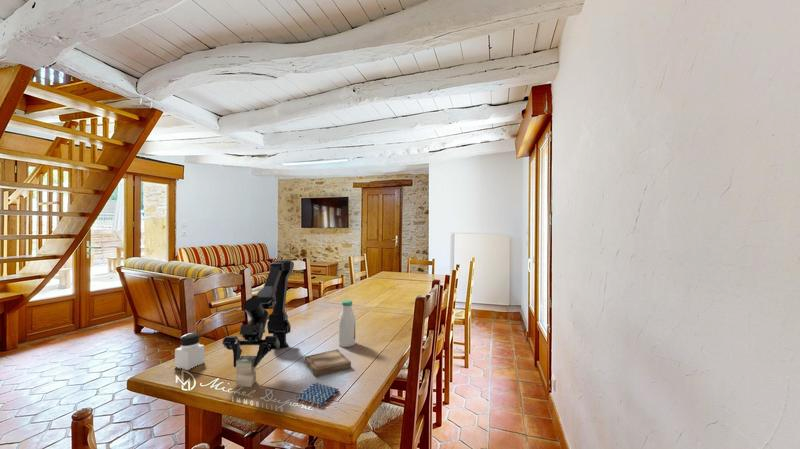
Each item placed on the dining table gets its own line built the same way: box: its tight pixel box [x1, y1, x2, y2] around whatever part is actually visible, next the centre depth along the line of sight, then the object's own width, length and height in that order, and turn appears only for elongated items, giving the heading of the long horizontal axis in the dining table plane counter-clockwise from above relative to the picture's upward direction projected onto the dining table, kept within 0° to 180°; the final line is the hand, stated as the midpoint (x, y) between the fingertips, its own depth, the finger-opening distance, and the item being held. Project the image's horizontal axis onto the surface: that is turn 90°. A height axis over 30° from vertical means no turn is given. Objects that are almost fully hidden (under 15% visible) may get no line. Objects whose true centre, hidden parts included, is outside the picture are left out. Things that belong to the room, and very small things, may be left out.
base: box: [304, 349, 352, 378], centre depth 126 cm, size 14×14×3 cm
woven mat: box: [295, 382, 341, 409], centre depth 104 cm, size 10×11×2 cm
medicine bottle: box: [174, 332, 206, 371], centre depth 125 cm, size 7×7×12 cm
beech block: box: [235, 355, 257, 388], centre depth 111 cm, size 4×5×9 cm
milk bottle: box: [337, 300, 356, 348], centre depth 147 cm, size 8×8×20 cm
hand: (244, 366), depth 110 cm, fingers open, 6 cm apart
